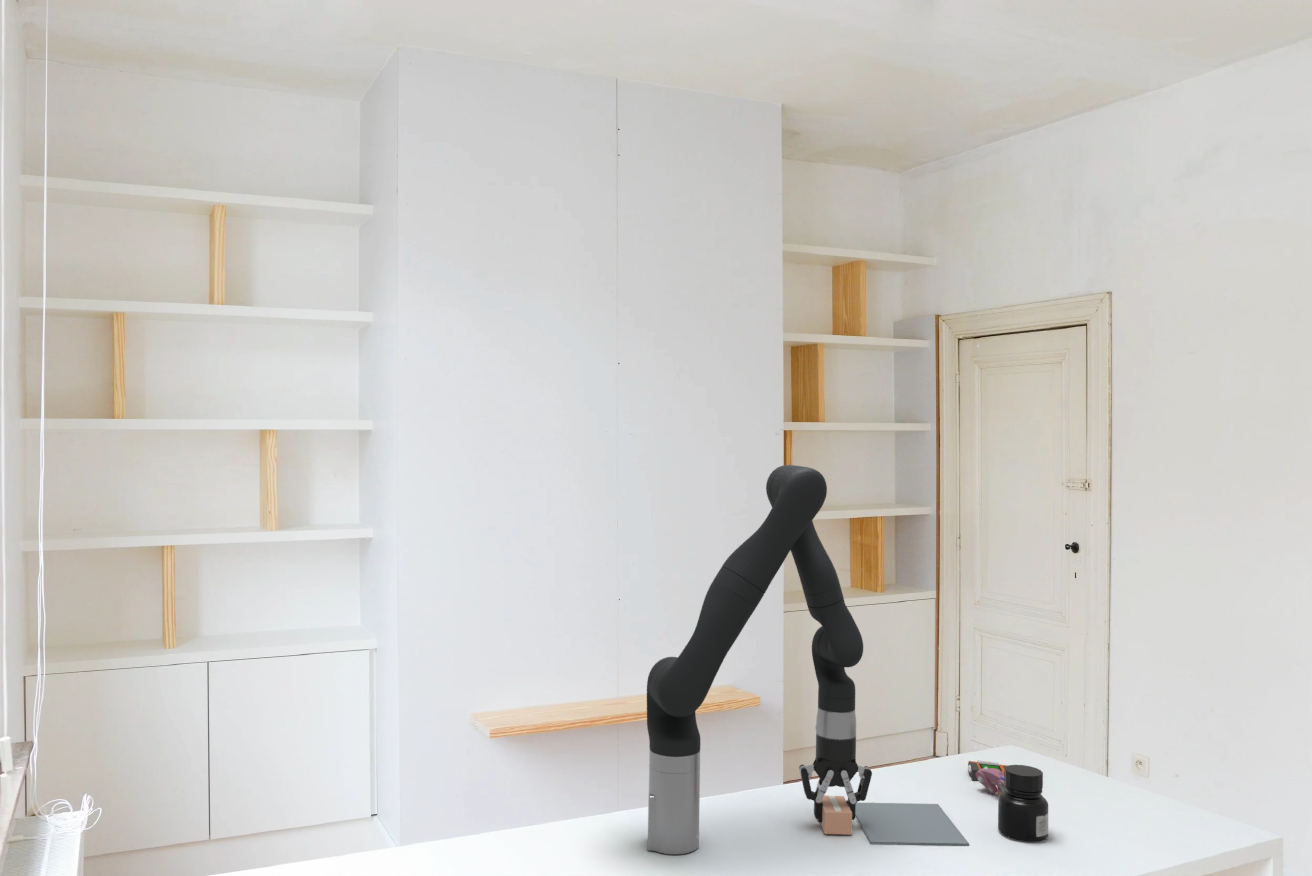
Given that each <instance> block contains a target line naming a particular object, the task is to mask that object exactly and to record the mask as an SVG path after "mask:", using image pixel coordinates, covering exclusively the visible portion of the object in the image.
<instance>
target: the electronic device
mask: <svg viewBox="0 0 1312 876" xmlns="http://www.w3.org/2000/svg"><path fill="white" fill-rule="evenodd" d="M967 765H968V766H967V771H968V773H969V777H970V779H971V780H973V781H978V779H977V778H976V772H977V771H979V770H980V769H982V768H985V766H986V767H988V769H989V768H995V769H998V770H1000V771H1002V772H1003V773H1004V768H1005V767H1006V766H1009V764H1007V765H1006V764H1000V763H999V762H998V761H996V762H995V761H987V760H980V759H977V761H972V760H968V762H967Z"/></svg>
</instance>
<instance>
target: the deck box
mask: <svg viewBox="0 0 1312 876" xmlns="http://www.w3.org/2000/svg"><path fill="white" fill-rule="evenodd" d="M822 803H823V807H822V822H819V823H820V825H821V828H822V831H823V832H824V833H823V834H824V835H844V836H845V835H849V836H850V835H851V836H852V835H853V820H852V812H851V810H850V808H849V806H848V804H847V802H846V798H845V796H844V795H824V797H823V800H822Z"/></svg>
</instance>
